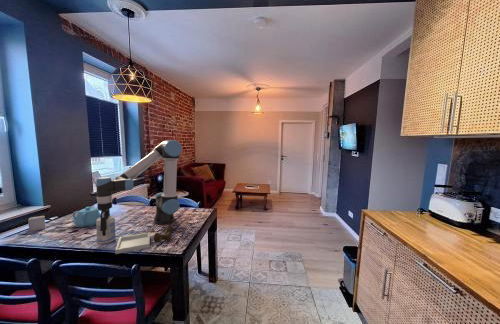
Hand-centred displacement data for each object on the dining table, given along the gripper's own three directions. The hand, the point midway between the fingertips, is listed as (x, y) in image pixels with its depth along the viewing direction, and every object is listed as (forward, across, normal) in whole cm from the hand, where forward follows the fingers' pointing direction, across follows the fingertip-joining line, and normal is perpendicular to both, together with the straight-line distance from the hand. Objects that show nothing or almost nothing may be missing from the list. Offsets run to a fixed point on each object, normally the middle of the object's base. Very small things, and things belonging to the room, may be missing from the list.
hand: (106, 236), depth 127 cm
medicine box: (+3, -40, -47) cm, 62 cm away
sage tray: (+3, +12, +16) cm, 20 cm away
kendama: (+3, +11, +33) cm, 35 cm away
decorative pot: (+3, -36, -17) cm, 40 cm away
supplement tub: (+3, 0, 0) cm, 3 cm away
